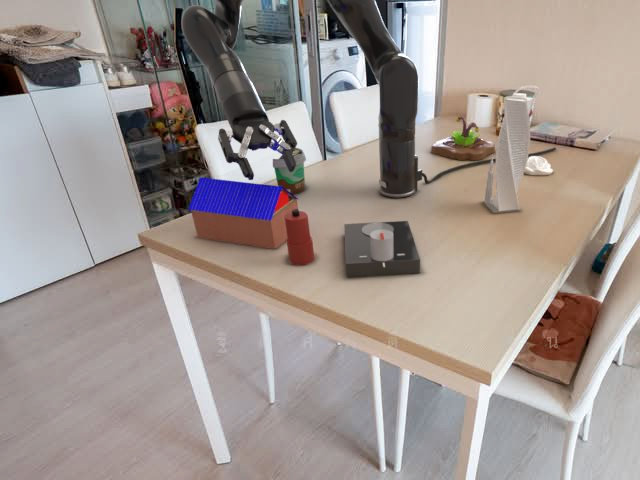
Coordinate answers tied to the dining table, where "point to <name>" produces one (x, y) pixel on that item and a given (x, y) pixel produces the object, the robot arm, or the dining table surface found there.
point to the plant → (463, 145)
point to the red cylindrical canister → (299, 238)
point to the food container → (291, 173)
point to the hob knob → (382, 245)
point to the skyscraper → (510, 153)
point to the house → (241, 212)
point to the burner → (376, 228)
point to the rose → (537, 166)
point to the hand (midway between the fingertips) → (272, 173)
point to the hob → (364, 265)
